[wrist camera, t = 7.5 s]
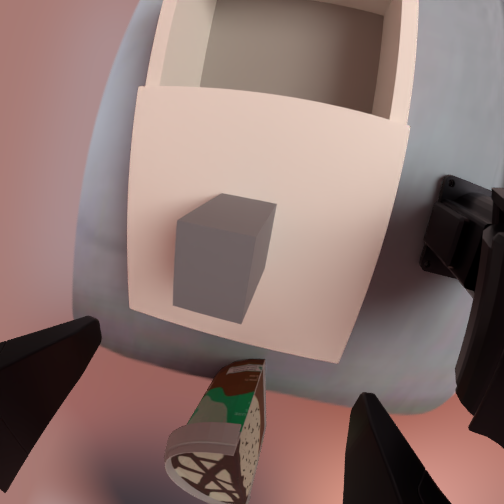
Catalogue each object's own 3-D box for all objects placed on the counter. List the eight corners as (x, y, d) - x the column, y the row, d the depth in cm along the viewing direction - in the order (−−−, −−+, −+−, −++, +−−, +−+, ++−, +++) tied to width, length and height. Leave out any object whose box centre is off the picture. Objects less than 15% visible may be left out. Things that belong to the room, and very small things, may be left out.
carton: (394, 13, 13) (418, -25, 7) (368, 186, 17) (389, 205, 12) (211, -11, 14) (178, -48, 9) (182, 151, 19) (136, 157, 14)
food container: (191, 337, 24) (135, 426, 15) (264, 345, 23) (232, 450, 14) (209, 424, 29) (178, 499, 19) (266, 433, 27) (245, 515, 18)
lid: (407, 126, 11) (457, 121, 6) (337, 357, 15) (338, 430, 11) (144, 87, 12) (72, 75, 8) (133, 304, 17) (84, 353, 12)
